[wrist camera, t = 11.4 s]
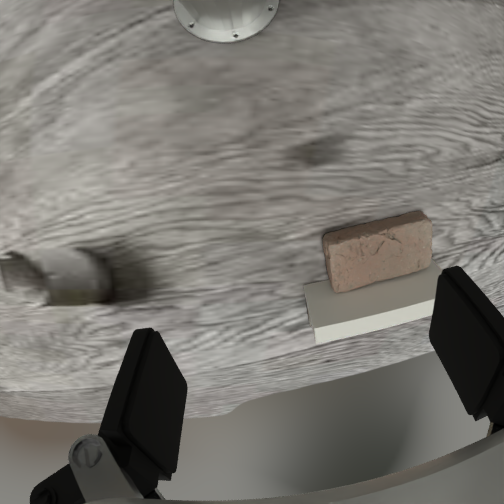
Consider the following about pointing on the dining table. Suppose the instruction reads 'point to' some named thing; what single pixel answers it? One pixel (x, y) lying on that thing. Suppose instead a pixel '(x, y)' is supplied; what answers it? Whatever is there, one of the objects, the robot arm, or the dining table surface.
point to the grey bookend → (370, 304)
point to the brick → (378, 250)
